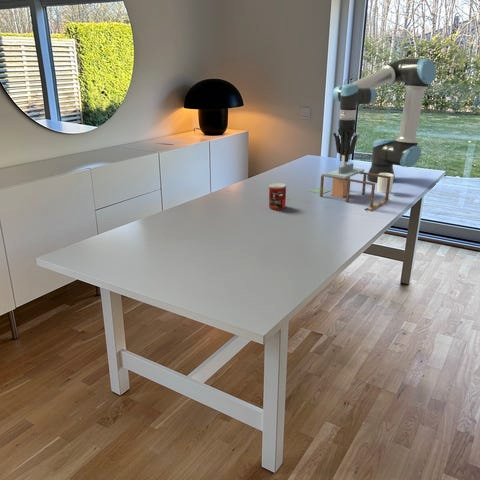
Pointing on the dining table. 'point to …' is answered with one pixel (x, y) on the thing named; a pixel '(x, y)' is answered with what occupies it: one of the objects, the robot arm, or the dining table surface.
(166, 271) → the dining table surface
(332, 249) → the dining table surface
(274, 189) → the canned food
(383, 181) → the white cup
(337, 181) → the block
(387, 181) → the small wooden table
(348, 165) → the lid
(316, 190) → the felt pad
